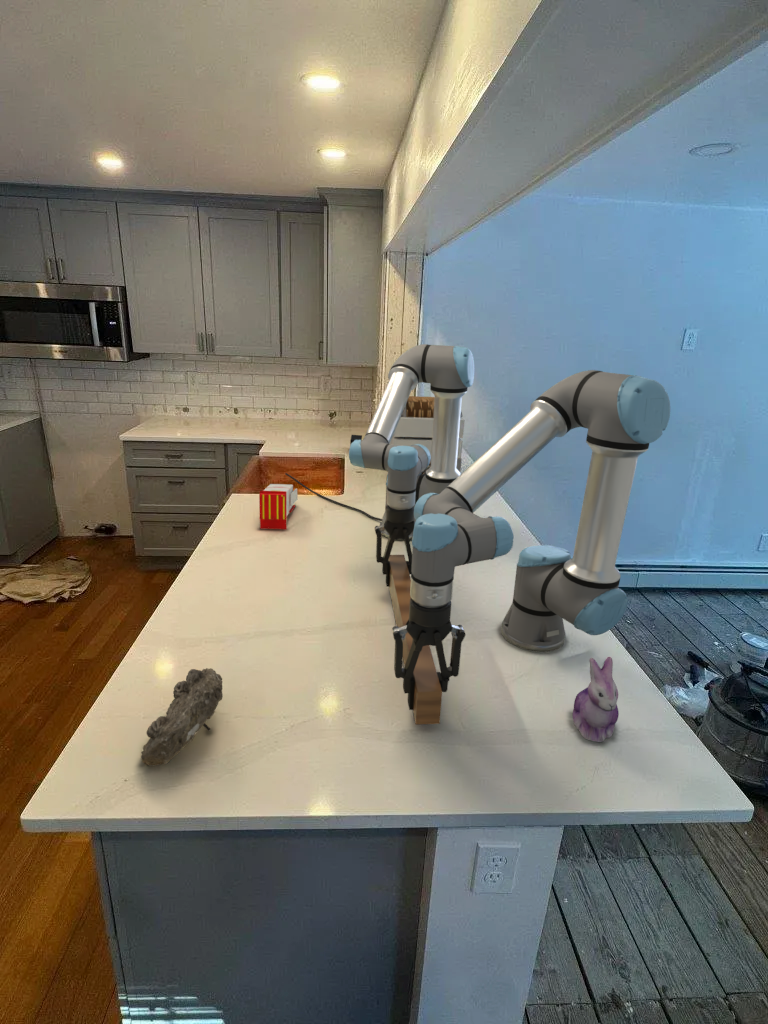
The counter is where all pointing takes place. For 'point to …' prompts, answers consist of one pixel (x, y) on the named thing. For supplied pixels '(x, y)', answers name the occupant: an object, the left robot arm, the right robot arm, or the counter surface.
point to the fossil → (183, 716)
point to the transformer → (421, 426)
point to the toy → (276, 505)
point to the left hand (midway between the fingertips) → (396, 584)
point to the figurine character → (355, 438)
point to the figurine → (597, 703)
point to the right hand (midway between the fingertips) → (424, 704)
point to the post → (425, 670)
